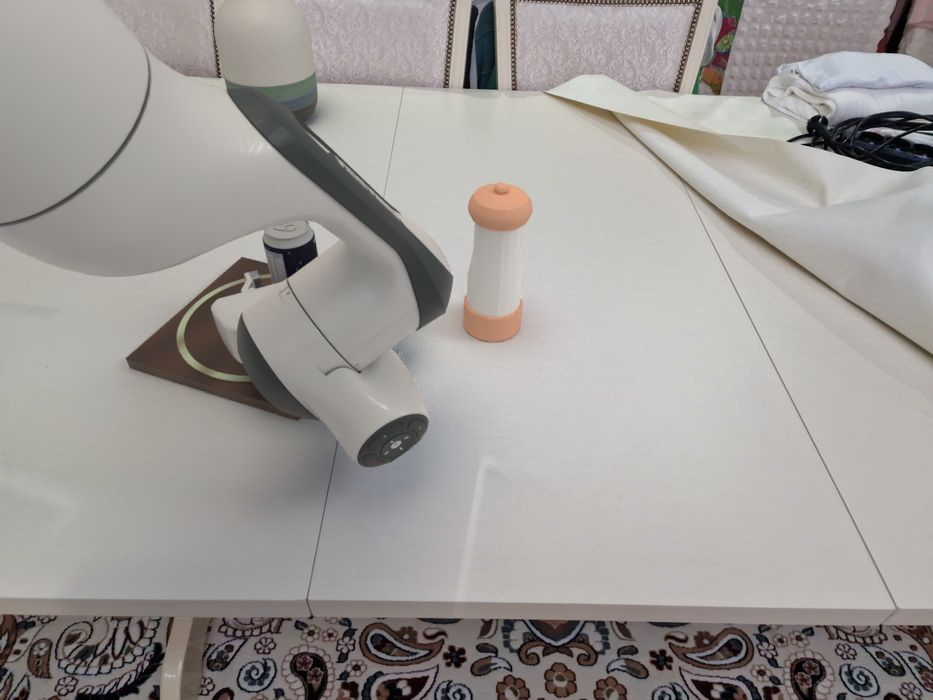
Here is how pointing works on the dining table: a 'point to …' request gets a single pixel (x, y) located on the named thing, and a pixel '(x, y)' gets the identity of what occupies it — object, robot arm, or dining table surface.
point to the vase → (268, 51)
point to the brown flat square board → (204, 345)
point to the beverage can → (289, 248)
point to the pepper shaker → (496, 262)
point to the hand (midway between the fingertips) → (292, 266)
